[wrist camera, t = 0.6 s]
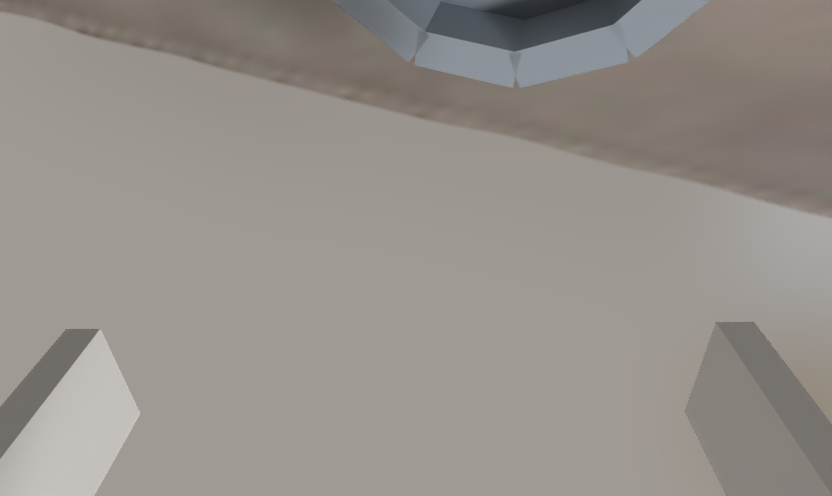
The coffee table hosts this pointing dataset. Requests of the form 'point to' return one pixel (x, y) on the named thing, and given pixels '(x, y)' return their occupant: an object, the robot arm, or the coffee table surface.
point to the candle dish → (519, 34)
